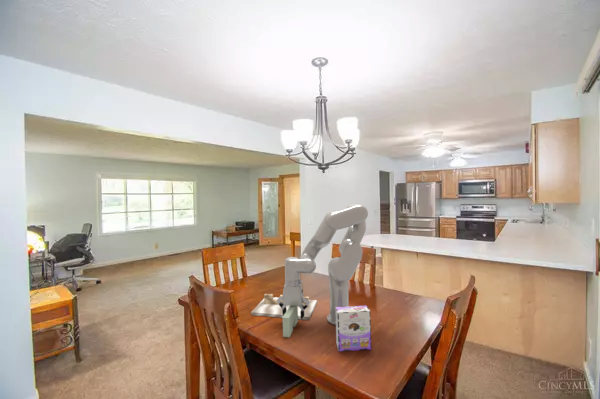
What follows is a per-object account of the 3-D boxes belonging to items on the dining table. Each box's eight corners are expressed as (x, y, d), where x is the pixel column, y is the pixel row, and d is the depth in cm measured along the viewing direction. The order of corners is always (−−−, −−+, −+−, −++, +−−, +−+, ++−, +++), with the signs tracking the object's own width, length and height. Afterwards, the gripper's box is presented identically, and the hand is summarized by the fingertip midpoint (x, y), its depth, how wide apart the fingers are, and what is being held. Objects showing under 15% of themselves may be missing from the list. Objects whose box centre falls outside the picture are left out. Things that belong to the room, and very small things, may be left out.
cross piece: (292, 320, 140) (291, 303, 140) (298, 321, 140) (297, 303, 139) (283, 336, 125) (282, 317, 125) (289, 337, 124) (288, 317, 124)
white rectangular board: (316, 302, 162) (316, 291, 162) (309, 320, 140) (309, 307, 140) (265, 299, 169) (265, 288, 169) (251, 314, 148) (250, 303, 148)
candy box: (367, 342, 119) (367, 304, 118) (371, 350, 113) (371, 310, 112) (335, 343, 118) (335, 306, 118) (338, 351, 112) (337, 312, 112)
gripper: (311, 281, 139) (312, 315, 139) (278, 279, 143) (279, 312, 143) (308, 286, 131) (308, 322, 132) (273, 284, 135) (274, 318, 136)
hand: (293, 316), depth 138 cm, fingers open, 8 cm apart
